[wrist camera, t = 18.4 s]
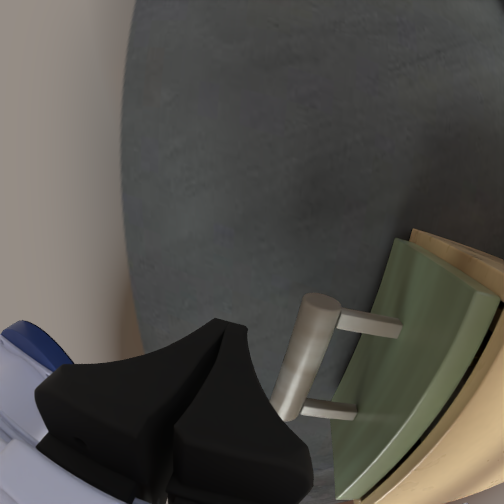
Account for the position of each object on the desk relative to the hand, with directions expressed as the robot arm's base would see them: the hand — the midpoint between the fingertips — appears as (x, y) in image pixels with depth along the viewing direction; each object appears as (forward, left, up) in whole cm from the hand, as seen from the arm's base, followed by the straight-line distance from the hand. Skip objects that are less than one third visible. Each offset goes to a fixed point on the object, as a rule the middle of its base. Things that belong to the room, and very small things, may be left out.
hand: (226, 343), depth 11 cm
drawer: (+10, 0, -3) cm, 11 cm away
